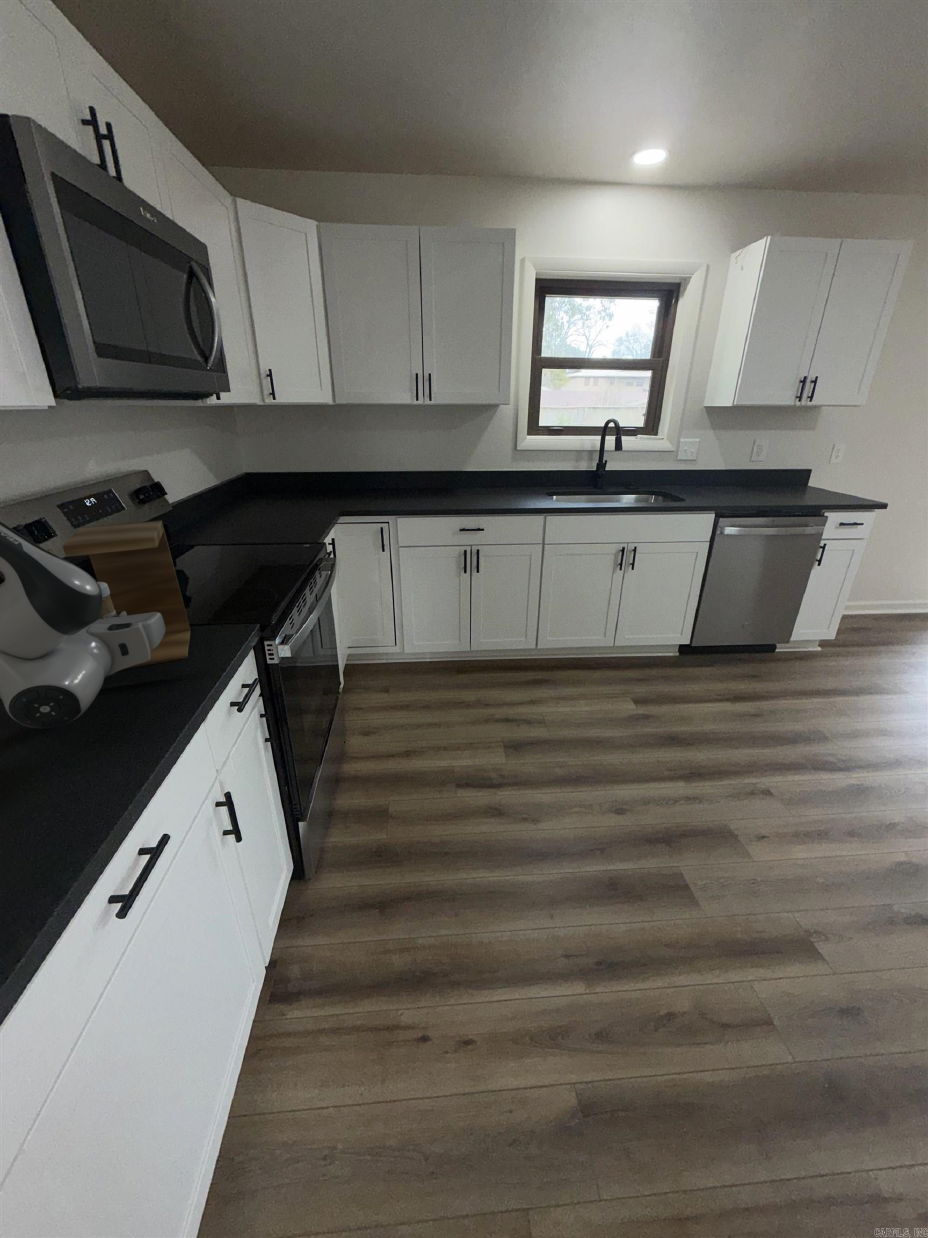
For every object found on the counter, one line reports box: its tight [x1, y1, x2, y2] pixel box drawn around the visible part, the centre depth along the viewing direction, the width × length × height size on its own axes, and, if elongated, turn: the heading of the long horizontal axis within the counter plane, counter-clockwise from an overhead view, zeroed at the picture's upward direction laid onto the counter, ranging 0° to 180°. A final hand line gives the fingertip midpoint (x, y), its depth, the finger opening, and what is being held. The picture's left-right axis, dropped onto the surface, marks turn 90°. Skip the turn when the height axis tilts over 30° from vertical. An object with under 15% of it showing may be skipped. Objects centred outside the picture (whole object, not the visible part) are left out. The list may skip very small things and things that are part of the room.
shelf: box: [62, 519, 192, 671], centre depth 100 cm, size 14×14×27 cm
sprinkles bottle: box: [97, 581, 116, 619], centre depth 87 cm, size 5×5×13 cm
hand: (104, 618), depth 87 cm, fingers closed on sprinkles bottle, 4 cm apart
